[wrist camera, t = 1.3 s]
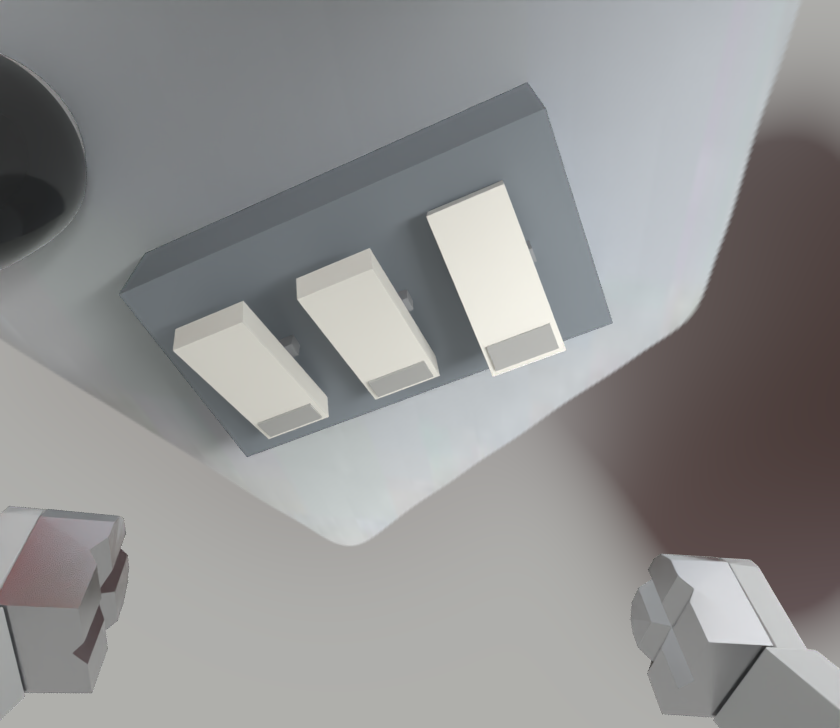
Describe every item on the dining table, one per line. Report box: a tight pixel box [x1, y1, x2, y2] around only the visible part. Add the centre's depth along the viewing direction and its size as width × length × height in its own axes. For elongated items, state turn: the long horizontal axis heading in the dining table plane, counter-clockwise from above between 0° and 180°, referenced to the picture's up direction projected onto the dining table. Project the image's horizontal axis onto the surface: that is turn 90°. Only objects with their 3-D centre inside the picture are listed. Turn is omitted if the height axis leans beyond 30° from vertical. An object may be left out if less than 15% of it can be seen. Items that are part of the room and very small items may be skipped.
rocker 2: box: [296, 248, 440, 400], centre depth 36 cm, size 4×9×2 cm, turn 23°
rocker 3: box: [426, 180, 566, 377], centre depth 35 cm, size 4×9×2 cm, turn 23°
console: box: [119, 83, 613, 457], centre depth 40 cm, size 24×13×6 cm, turn 113°
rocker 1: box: [173, 301, 329, 439], centre depth 38 cm, size 4×9×2 cm, turn 23°
